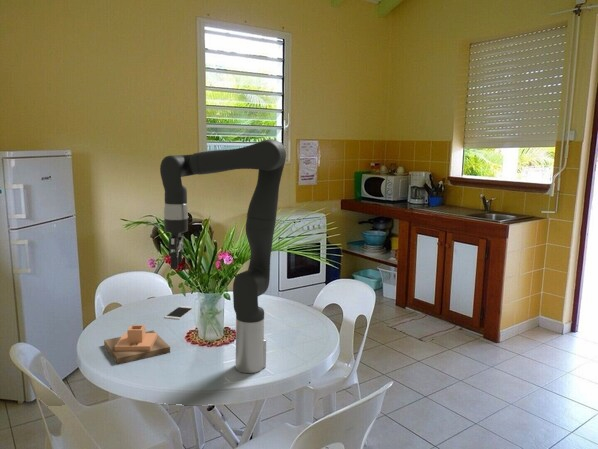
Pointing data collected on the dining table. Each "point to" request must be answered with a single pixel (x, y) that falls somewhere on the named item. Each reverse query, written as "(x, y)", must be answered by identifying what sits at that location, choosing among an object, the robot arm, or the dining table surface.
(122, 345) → the flange plate
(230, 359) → the dining table surface
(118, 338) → the post base
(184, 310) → the smartphone
